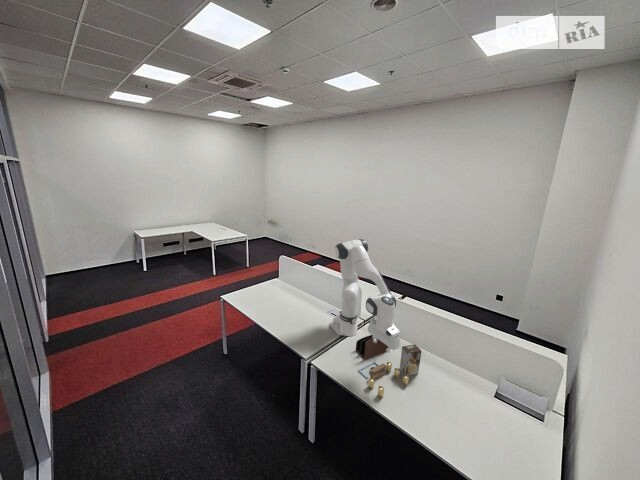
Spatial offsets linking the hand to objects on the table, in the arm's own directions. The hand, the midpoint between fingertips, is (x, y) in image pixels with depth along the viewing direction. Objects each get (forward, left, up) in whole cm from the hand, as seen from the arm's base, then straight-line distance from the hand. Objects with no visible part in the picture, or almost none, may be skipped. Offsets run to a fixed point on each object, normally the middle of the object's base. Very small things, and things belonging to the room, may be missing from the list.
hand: (381, 347), depth 149 cm
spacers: (+7, -1, -19) cm, 21 cm away
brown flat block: (0, 0, -20) cm, 20 cm away
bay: (-5, 0, -19) cm, 20 cm away
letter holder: (-17, +13, -20) cm, 29 cm away
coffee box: (+8, +18, -20) cm, 28 cm away
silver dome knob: (-3, 0, -20) cm, 20 cm away
